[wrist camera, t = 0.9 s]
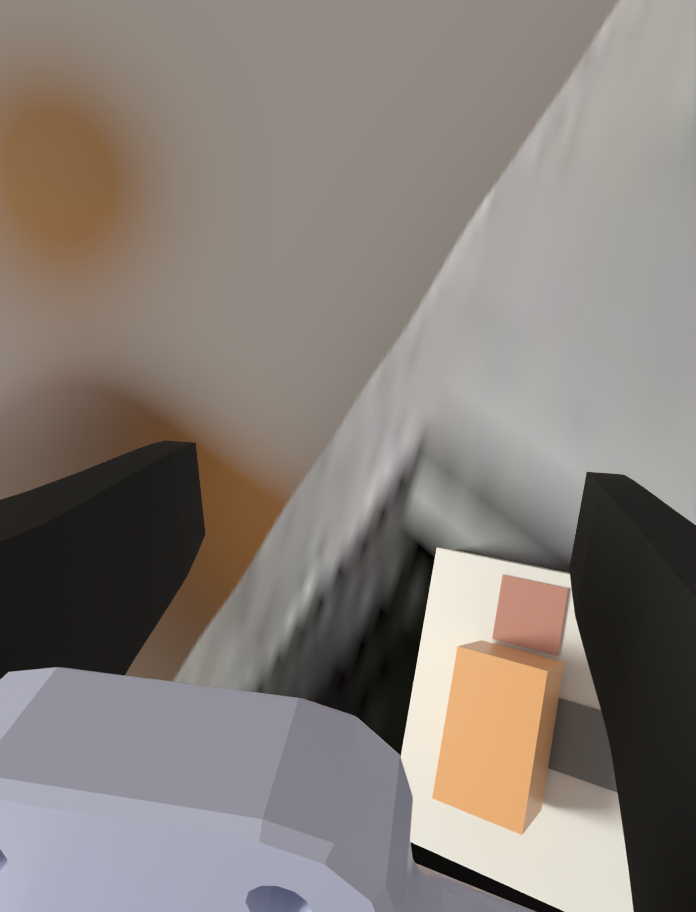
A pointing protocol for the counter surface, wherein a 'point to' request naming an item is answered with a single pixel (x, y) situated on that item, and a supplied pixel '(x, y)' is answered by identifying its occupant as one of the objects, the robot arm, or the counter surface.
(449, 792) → the breaker toggle
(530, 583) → the panel
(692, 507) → the counter surface
